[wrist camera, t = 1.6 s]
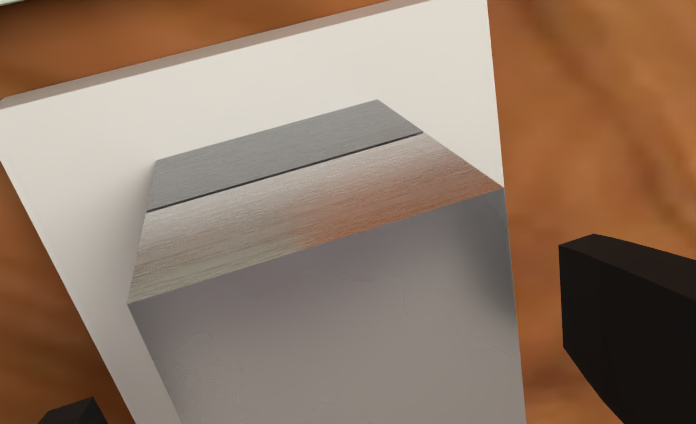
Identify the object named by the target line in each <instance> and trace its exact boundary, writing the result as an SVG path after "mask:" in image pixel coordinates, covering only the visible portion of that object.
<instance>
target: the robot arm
mask: <svg viewBox="0 0 696 424" xmlns="http://www.w3.org/2000/svg"><path fill="white" fill-rule="evenodd" d="M559 265H560V286H561V307H562V328H563V347H564V349H565V350H566V351H567V353H568V354H569V356H570V357H571V358H572V360H573V361H574V363H575V364H576V366H577V367H578V368H579V370H580V371H581V373H582V374H583V375H584V377H585V378H586V379H587V381H588V382H589V383H590V385H591V386H592V387H593V389H594V390H595V391H596V393H597V394H598V395H599V397H600V398H601V399H602V400H603V402H604V403H605V404H606V405H607V406H608V407H609V408H610V409H611V410H612V411H613V412H614V414H615V415H616V416H617V417H618V418H619V419H620V420H621V421H622V422H623V423H624V424H696V260H693V259H689V258H686V257H682V256H679V255H675V254H672V253H668V252H664V251H661V250H657V249H654V248H650V247H647V246H643V245H639V244H635V243H632V242H628V241H624V240H620V239H616V238H612V237H607V236H602V235H597V234H591V235H588V236H585V237H582V238H579V239H576V240H573V241H570V242H567V243H564V244H561V245H559ZM38 424H108V423H107V421H106V419H105V418H104V416H103V414H102V412H101V410H100V408H99V407H98V405H97V403H96V401H95V399H94V397H91V398H87V399H84V400H81V401H78V402H75V403H72V404H69V405H66V406H63V407H60V408H57V409H54V410H51V411H48V413H47V414H46V415H45V416H44V417H43V418H42V419H41V421H40V422H39V423H38Z"/></svg>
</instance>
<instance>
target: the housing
mask: <svg viewBox="0 0 696 424" xmlns="http://www.w3.org/2000/svg"><path fill="white" fill-rule="evenodd" d="M146 211H147V213H146V215H145V220H144V224H143V229H142V234H141V239H140V243H139V248H138V253H137V258H136V262H135V267H134V272H133V277H132V281H131V286H130V291H129V296H128V300H127V306H128V308H129V310H130V312H131V315H132V317H133V319H134V321H135V323H136V325H137V328H138V330H139V332H140V334H141V336H142V338H143V340H144V343H145V345H146V347H147V349H148V351H149V353H150V356H151V358H152V360H153V362H154V364H155V366H156V368H157V371H158V373H159V375H160V377H161V379H162V381H163V384H164V386H165V388H166V390H167V392H168V394H169V396H170V399H171V401H172V403H173V405H174V407H175V409H176V411H177V414H178V416H179V418H180V420H181V422H182V424H526V414H525V404H524V393H523V383H522V372H521V361H520V351H519V340H518V329H517V319H516V308H515V297H514V287H513V276H512V265H511V255H510V244H509V234H508V223H507V212H506V202H505V191H504V187H502V186H501V185H499V184H498V183H497V182H495V181H494V180H492V179H491V178H489V177H488V176H487V175H485V174H484V173H482V172H481V171H479V170H478V169H477V168H475V167H474V166H472V165H471V164H469V163H468V162H467V161H465V160H464V159H462V158H461V157H459V156H458V155H457V154H455V153H454V152H452V151H451V150H449V149H448V148H446V147H445V146H444V145H442V144H441V143H439V142H438V141H436V140H435V139H434V138H432V137H431V136H429V135H428V134H426V133H423V131H422V130H421V129H419V128H418V127H416V126H415V125H414V124H412V123H411V122H409V121H408V120H406V119H405V118H404V117H402V116H401V115H399V114H398V113H396V112H395V111H394V110H392V109H391V108H389V107H388V106H386V105H385V104H384V103H382V102H381V101H379V100H378V99H376V100H373V101H369V102H365V103H362V104H358V105H354V106H351V107H347V108H344V109H340V110H336V111H333V112H329V113H325V114H322V115H318V116H315V117H311V118H307V119H304V120H300V121H296V122H293V123H289V124H286V125H282V126H278V127H275V128H271V129H267V130H264V131H260V132H257V133H253V134H249V135H246V136H242V137H238V138H235V139H231V140H228V141H224V142H220V143H217V144H213V145H209V146H206V147H202V148H199V149H195V150H191V151H188V152H184V153H180V154H177V155H173V156H170V157H166V158H162V159H159V160H157V162H156V167H155V172H154V177H153V181H152V186H151V191H150V196H149V200H148V205H147V210H146Z"/></svg>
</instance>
